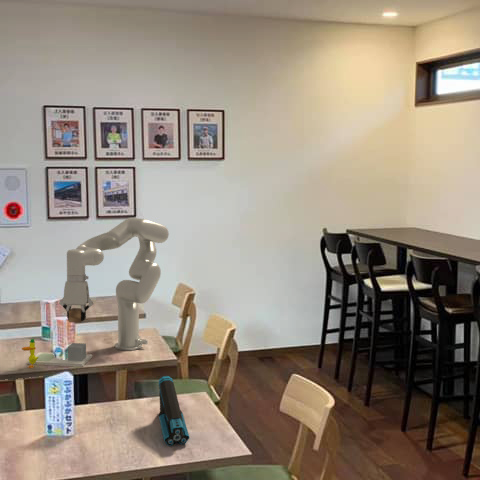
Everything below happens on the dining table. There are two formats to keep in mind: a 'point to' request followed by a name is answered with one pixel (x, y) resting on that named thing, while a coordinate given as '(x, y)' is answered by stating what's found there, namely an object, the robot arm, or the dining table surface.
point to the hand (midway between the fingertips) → (76, 319)
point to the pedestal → (76, 352)
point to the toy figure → (32, 350)
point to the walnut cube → (75, 315)
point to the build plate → (51, 360)
